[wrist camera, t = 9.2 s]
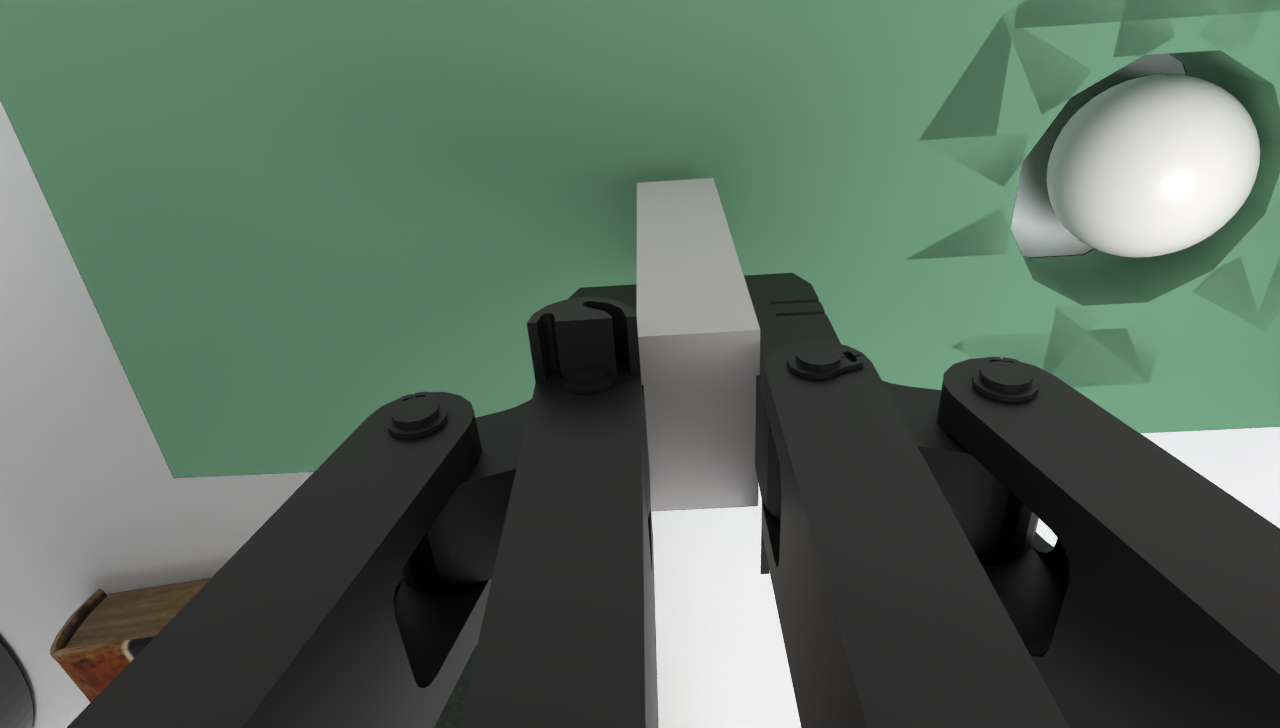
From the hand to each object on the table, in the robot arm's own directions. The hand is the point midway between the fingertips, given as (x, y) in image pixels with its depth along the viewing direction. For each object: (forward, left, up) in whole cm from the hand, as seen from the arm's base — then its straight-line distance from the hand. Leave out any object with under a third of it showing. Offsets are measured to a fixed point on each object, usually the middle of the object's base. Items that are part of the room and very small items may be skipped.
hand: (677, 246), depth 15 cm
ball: (+11, 0, -3) cm, 11 cm away
